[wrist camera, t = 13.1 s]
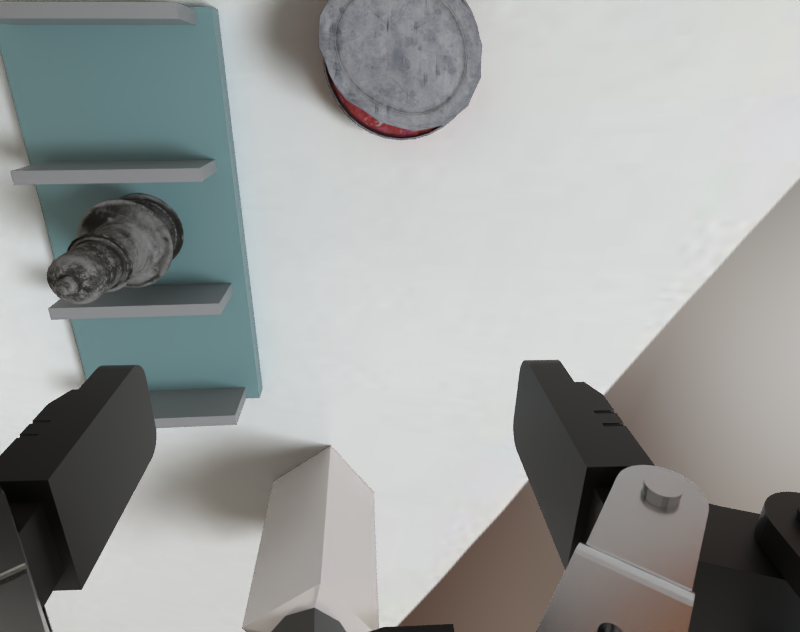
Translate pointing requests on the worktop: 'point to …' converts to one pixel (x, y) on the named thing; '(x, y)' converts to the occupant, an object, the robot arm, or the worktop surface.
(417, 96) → the canned food
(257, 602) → the soap dispenser
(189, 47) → the rack
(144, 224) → the grey chess piece
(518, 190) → the worktop surface
